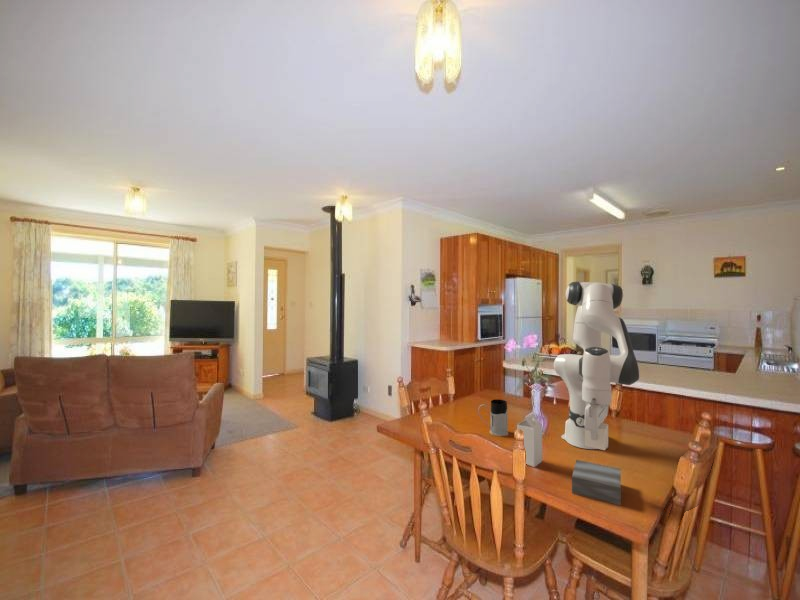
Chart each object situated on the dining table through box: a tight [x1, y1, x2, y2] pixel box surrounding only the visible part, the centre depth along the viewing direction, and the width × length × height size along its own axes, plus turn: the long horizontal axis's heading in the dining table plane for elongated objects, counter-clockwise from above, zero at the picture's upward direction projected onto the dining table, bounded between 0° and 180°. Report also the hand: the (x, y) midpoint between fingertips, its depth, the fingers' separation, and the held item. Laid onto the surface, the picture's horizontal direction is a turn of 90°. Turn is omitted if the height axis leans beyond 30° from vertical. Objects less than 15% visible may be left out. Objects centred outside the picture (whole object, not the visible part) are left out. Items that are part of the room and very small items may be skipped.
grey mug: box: [478, 399, 509, 437], centre depth 174 cm, size 9×14×15 cm, turn 90°
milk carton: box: [516, 411, 543, 468], centre depth 144 cm, size 7×7×19 cm
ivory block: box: [585, 422, 609, 451], centre depth 123 cm, size 6×6×7 cm
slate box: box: [571, 459, 622, 506], centre depth 123 cm, size 14×14×6 cm
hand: (596, 436), depth 123 cm, fingers closed on ivory block, 6 cm apart
